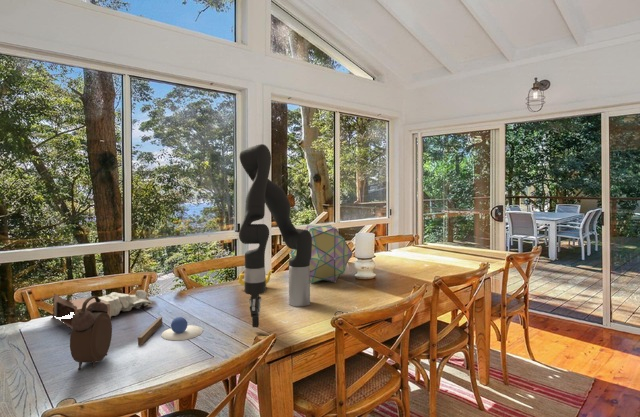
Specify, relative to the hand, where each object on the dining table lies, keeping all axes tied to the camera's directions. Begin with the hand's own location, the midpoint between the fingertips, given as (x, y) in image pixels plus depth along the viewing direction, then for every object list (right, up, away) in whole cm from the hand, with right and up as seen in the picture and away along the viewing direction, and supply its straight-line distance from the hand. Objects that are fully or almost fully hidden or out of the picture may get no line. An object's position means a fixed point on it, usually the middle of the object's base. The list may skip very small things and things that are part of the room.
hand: (255, 326), depth 144 cm
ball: (-27, +1, -1) cm, 27 cm away
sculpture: (+24, +3, +75) cm, 79 cm away
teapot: (-9, +2, +59) cm, 59 cm away
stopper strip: (-37, -2, -2) cm, 37 cm away
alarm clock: (-45, -4, -25) cm, 52 cm away
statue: (-63, -2, +16) cm, 65 cm away
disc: (-26, -2, -1) cm, 26 cm away
